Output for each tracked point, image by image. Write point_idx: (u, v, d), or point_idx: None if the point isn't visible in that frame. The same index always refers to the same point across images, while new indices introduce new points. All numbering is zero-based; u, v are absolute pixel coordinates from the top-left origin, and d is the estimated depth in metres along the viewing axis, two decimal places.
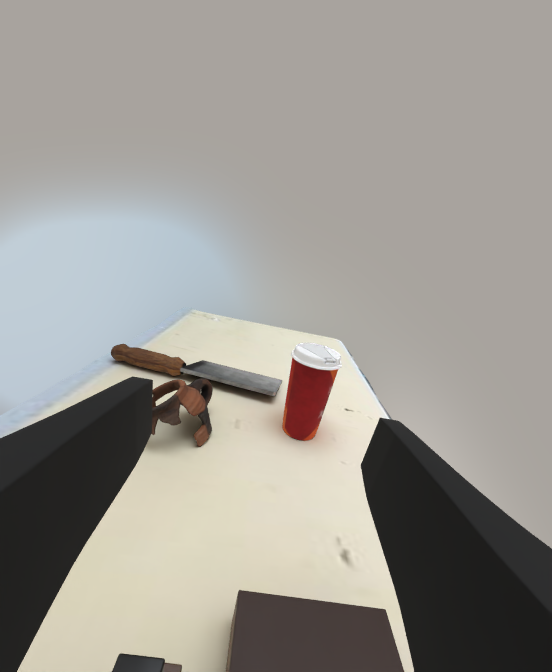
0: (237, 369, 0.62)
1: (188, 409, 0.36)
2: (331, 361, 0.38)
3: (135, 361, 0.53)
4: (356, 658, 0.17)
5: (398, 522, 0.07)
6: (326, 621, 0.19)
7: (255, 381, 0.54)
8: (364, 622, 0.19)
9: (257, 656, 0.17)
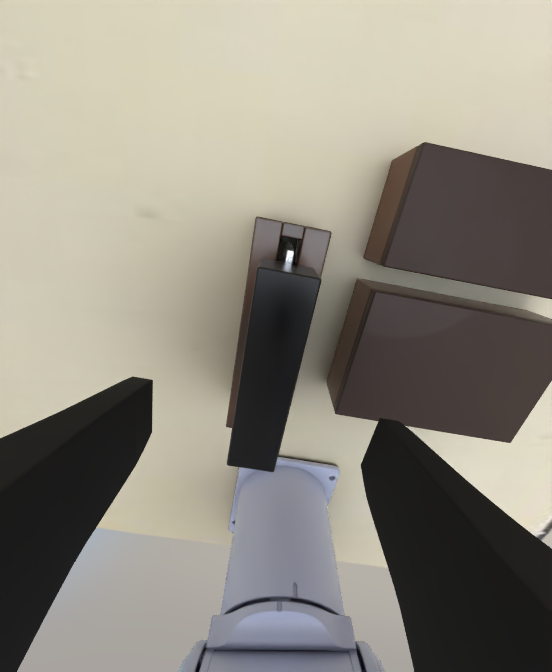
0: None
1: None
2: None
3: None
4: None
5: (398, 522, 0.07)
6: None
7: None
8: None
9: (430, 234, 0.12)
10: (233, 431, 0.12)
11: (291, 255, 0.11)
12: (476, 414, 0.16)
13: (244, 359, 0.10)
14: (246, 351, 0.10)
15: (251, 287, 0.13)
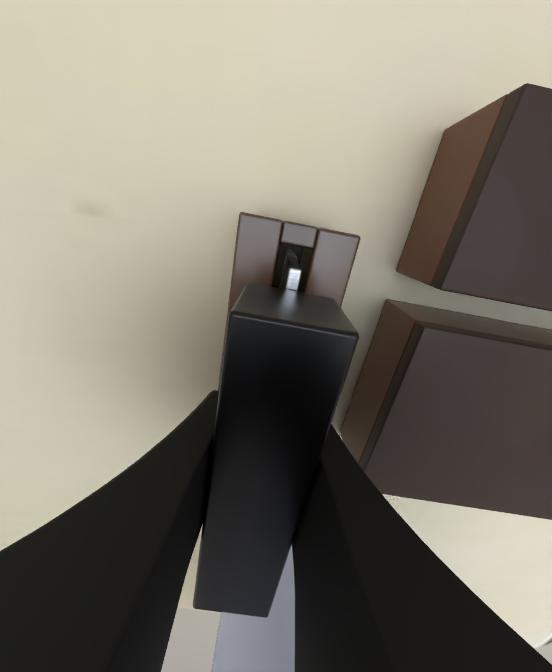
0: None
1: None
2: None
3: None
4: None
5: None
6: None
7: None
8: None
9: (519, 241, 0.08)
10: (200, 568, 0.07)
11: (296, 277, 0.07)
12: None
13: (212, 469, 0.06)
14: (215, 456, 0.06)
15: None
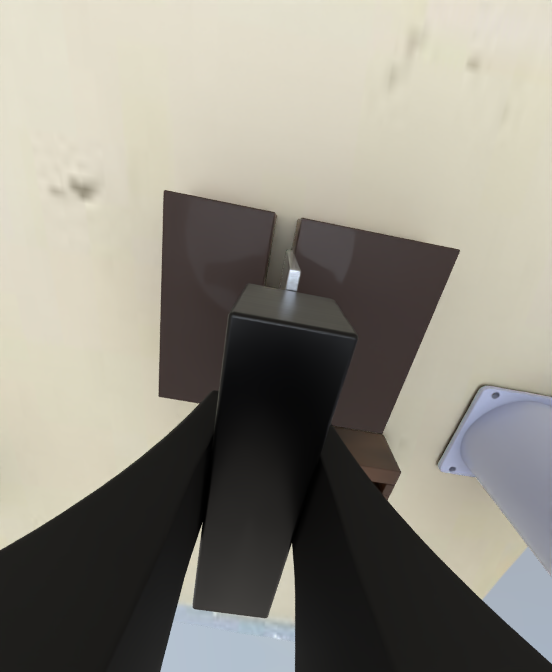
0: None
1: None
2: None
3: None
4: (220, 271, 0.13)
5: None
6: (183, 298, 0.14)
7: None
8: (182, 239, 0.13)
9: (216, 383, 0.16)
10: (199, 568, 0.07)
11: (296, 278, 0.07)
12: (404, 304, 0.14)
13: (211, 470, 0.06)
14: (214, 457, 0.06)
15: None
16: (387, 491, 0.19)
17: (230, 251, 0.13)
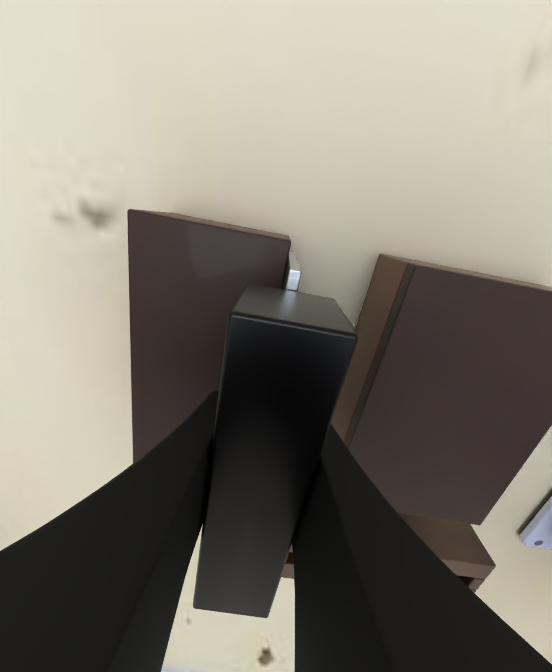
0: None
1: None
2: None
3: None
4: (211, 320, 0.09)
5: None
6: (162, 355, 0.10)
7: None
8: (157, 278, 0.09)
9: None
10: (200, 568, 0.07)
11: (296, 278, 0.07)
12: (540, 377, 0.10)
13: (212, 469, 0.06)
14: (215, 457, 0.06)
15: None
16: (474, 585, 0.15)
17: (226, 294, 0.09)
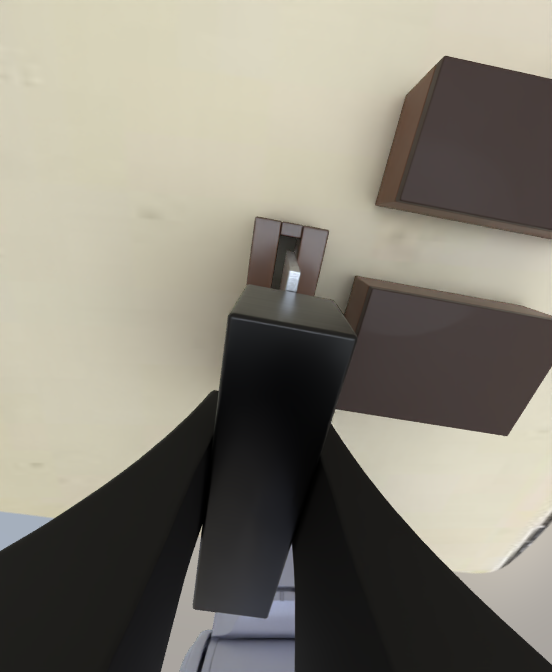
0: None
1: None
2: None
3: None
4: None
5: None
6: None
7: None
8: None
9: (450, 163, 0.12)
10: (199, 569, 0.07)
11: (296, 279, 0.07)
12: (473, 408, 0.16)
13: (211, 470, 0.06)
14: (214, 458, 0.06)
15: None
16: None
17: None
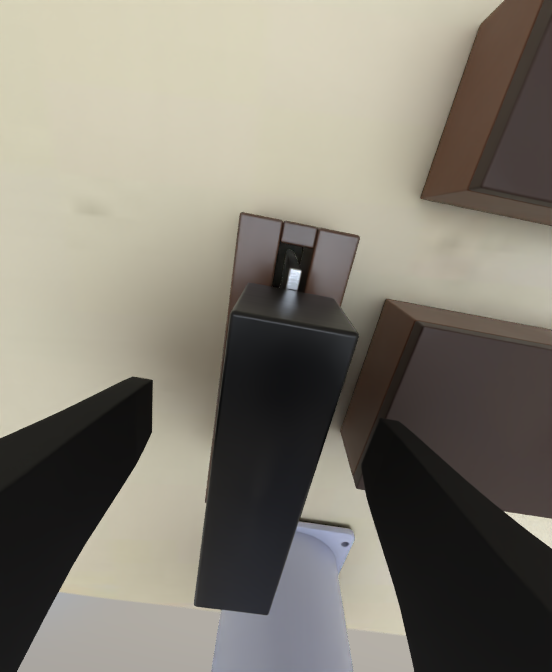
0: None
1: None
2: None
3: None
4: None
5: (398, 522, 0.07)
6: None
7: None
8: None
9: None
10: (201, 566, 0.07)
11: (297, 277, 0.07)
12: None
13: (213, 467, 0.06)
14: (216, 455, 0.06)
15: None
16: None
17: None
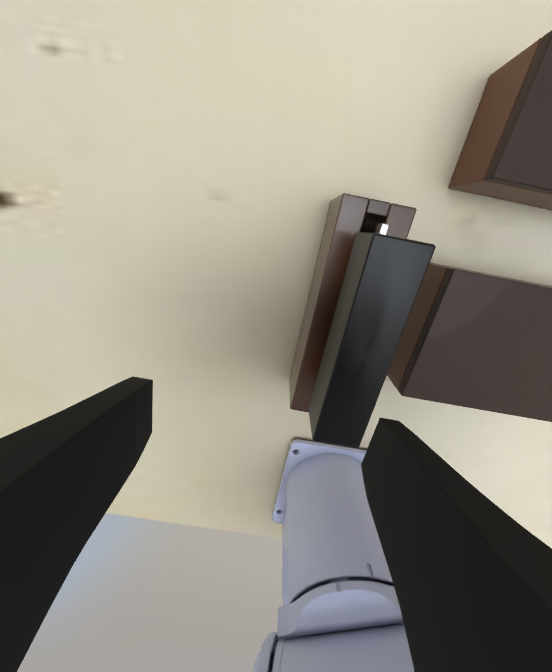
0: None
1: None
2: None
3: None
4: None
5: (398, 522, 0.07)
6: None
7: None
8: None
9: (548, 139, 0.11)
10: (325, 404, 0.12)
11: (385, 229, 0.11)
12: (543, 396, 0.16)
13: (347, 329, 0.10)
14: (350, 321, 0.10)
15: (330, 266, 0.14)
16: None
17: None
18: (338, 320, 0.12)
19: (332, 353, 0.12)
